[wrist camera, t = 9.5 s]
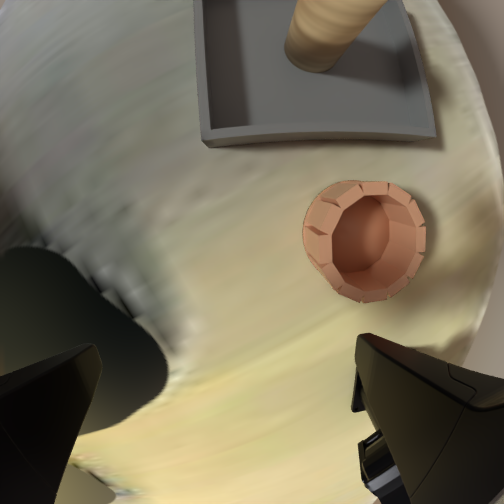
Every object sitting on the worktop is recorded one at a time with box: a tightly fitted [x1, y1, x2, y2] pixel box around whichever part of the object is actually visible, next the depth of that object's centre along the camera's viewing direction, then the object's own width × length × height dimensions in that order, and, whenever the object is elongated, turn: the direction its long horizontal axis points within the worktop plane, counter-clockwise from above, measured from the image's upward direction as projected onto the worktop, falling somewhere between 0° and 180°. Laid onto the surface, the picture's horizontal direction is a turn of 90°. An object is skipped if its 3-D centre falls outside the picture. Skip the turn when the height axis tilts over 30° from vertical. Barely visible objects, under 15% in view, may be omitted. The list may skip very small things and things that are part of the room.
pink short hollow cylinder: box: [303, 180, 426, 303], centre depth 19 cm, size 8×8×4 cm
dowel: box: [284, 0, 388, 73], centre depth 12 cm, size 4×4×10 cm
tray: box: [193, 0, 436, 148], centre depth 16 cm, size 14×16×4 cm
